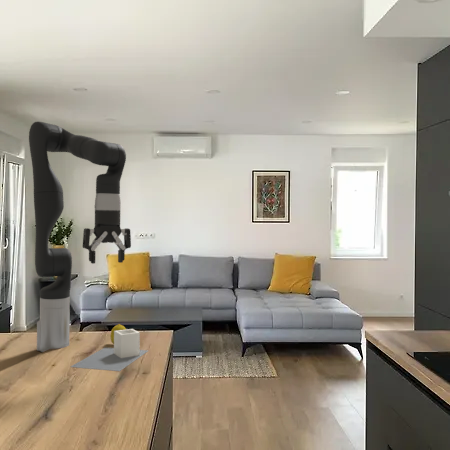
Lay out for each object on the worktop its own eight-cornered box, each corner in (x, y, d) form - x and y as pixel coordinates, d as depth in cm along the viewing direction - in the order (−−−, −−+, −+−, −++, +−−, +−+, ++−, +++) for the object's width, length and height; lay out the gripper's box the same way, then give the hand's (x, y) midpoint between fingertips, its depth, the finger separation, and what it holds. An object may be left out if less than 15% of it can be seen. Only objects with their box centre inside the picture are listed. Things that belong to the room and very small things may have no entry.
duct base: (69, 372, 141) (70, 366, 141) (105, 351, 162) (105, 347, 162) (119, 376, 137) (119, 371, 137) (148, 355, 159) (148, 350, 159)
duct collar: (120, 358, 150) (121, 334, 150) (113, 353, 155) (114, 330, 155) (139, 355, 153) (139, 332, 153) (132, 350, 158) (132, 328, 158)
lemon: (129, 345, 170) (129, 322, 170) (124, 350, 164) (124, 325, 164) (113, 345, 171) (113, 321, 170) (108, 349, 165) (108, 325, 165)
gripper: (88, 208, 144) (87, 264, 144) (134, 209, 151) (133, 263, 152) (80, 208, 150) (79, 262, 150) (125, 209, 158) (124, 261, 158)
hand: (106, 262), depth 151 cm, fingers open, 8 cm apart
